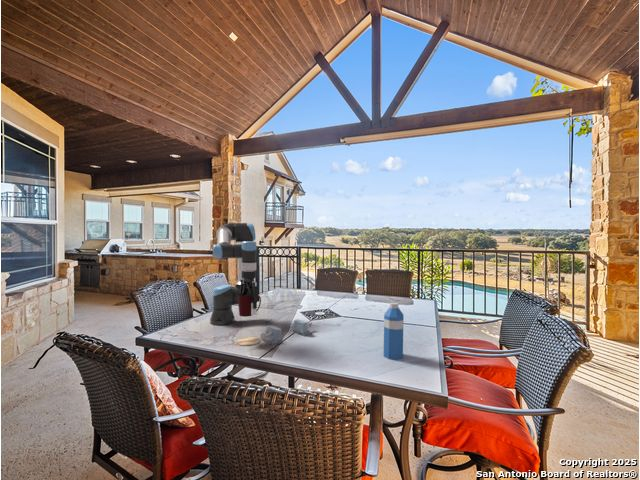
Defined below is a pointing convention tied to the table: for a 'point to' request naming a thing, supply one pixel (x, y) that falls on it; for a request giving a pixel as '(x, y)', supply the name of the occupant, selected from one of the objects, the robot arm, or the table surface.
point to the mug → (245, 304)
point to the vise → (275, 332)
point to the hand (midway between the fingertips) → (248, 312)
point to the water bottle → (393, 332)
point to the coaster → (248, 341)
